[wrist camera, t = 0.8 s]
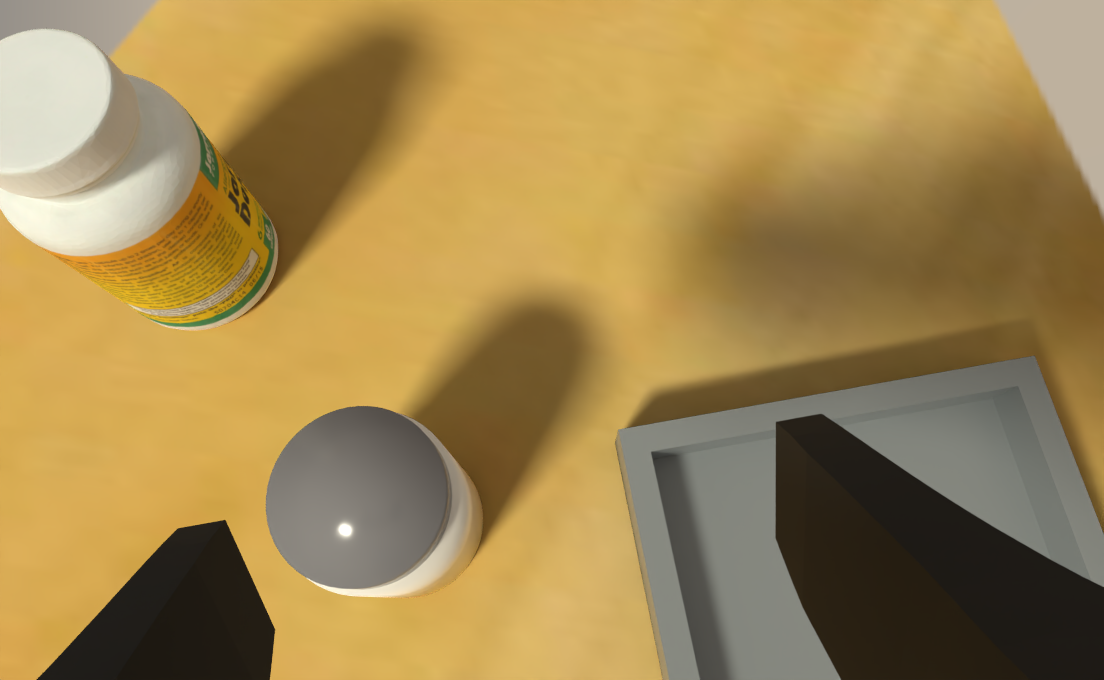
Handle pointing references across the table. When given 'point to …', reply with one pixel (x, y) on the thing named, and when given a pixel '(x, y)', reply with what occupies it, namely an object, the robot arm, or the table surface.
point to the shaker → (373, 506)
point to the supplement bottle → (126, 185)
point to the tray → (750, 505)
